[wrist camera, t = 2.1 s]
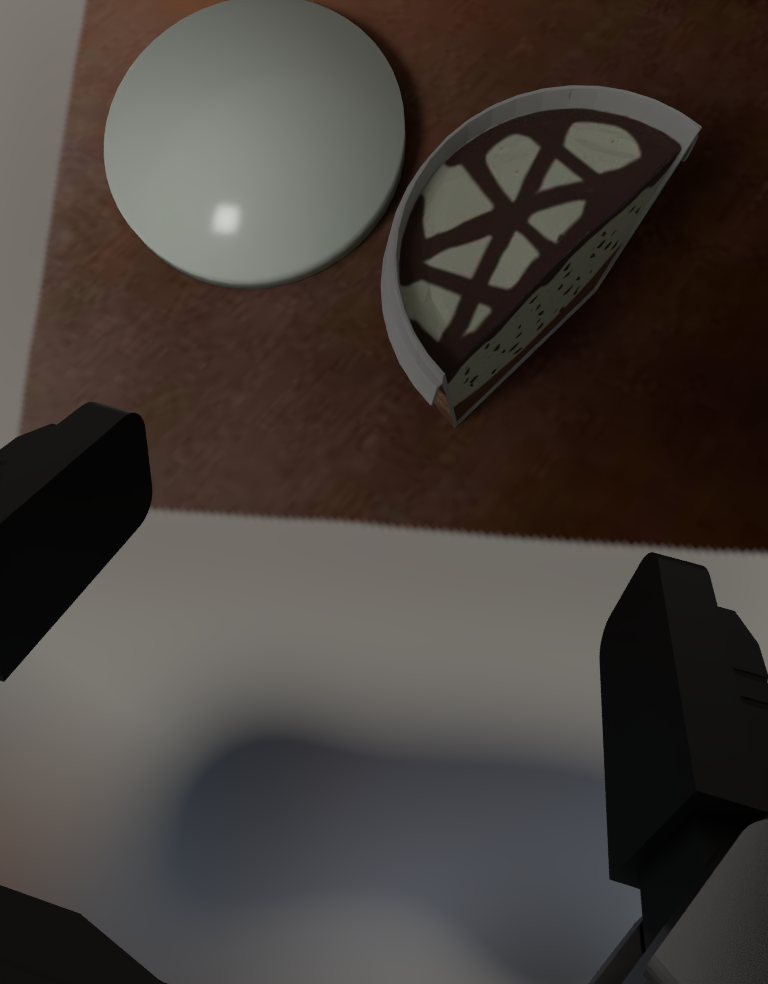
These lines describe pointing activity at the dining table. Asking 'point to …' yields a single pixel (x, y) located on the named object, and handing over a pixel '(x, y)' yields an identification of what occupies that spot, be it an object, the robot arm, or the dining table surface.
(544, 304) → the food container
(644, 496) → the dining table surface
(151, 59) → the serving plate
